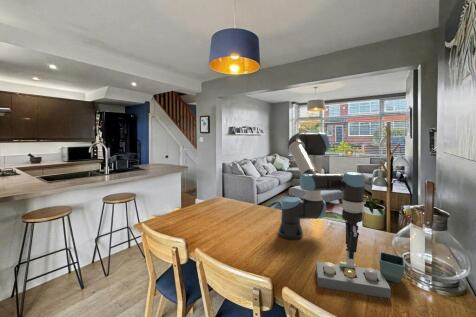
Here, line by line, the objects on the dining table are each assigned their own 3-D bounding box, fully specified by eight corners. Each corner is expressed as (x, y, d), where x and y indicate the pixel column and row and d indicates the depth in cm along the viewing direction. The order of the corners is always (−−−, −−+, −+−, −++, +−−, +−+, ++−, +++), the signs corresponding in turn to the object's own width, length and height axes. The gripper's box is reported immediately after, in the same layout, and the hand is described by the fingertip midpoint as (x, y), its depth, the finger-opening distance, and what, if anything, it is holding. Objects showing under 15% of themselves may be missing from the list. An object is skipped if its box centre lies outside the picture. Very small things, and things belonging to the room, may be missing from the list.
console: (318, 286, 90) (318, 277, 89) (315, 269, 101) (316, 261, 101) (390, 298, 82) (390, 288, 82) (379, 278, 94) (379, 270, 94)
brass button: (344, 284, 90) (345, 273, 90) (342, 278, 94) (343, 267, 94) (356, 286, 89) (356, 275, 89) (353, 280, 93) (354, 269, 93)
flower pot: (378, 269, 101) (379, 251, 100) (402, 276, 96) (403, 257, 95) (378, 279, 93) (379, 260, 93) (403, 287, 88) (405, 266, 88)
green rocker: (340, 267, 95) (340, 263, 95) (339, 265, 98) (339, 261, 98) (355, 270, 93) (355, 265, 94) (354, 267, 96) (354, 263, 96)
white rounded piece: (324, 278, 92) (324, 267, 92) (323, 272, 97) (323, 261, 96) (335, 280, 91) (335, 268, 91) (333, 273, 95) (334, 263, 95)
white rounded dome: (366, 285, 88) (366, 273, 88) (363, 278, 92) (363, 267, 92) (378, 286, 87) (379, 275, 86) (375, 280, 91) (375, 268, 91)
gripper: (367, 216, 82) (364, 275, 84) (358, 206, 94) (355, 257, 96) (345, 214, 84) (343, 272, 86) (339, 204, 96) (337, 255, 98)
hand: (349, 264), depth 91 cm, fingers closed
